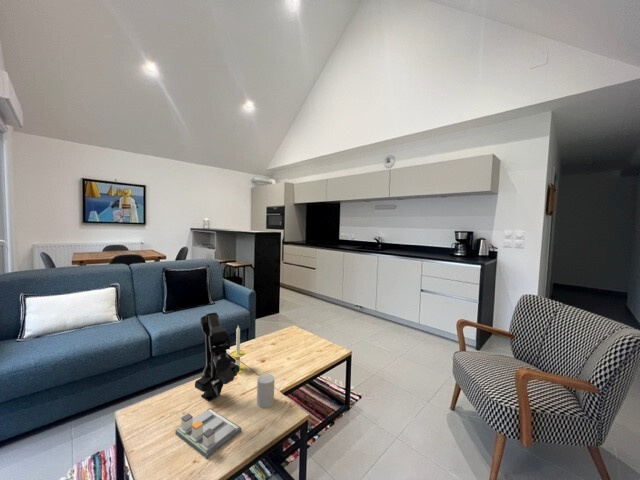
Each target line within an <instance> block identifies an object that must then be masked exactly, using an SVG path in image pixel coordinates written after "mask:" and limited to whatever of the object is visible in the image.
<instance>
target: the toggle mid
mask: <svg viewBox="0 0 640 480" xmlns="http://www.w3.org/2000/svg"><path fill="white" fill-rule="evenodd" d="M202 434H203V423H202V422H200V421H197V422H195V423H194V424H192V436H194V437H195V438H197V437H199V436H200V435H202Z"/></svg>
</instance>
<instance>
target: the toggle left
mask: <svg viewBox="0 0 640 480" xmlns="http://www.w3.org/2000/svg"><path fill="white" fill-rule="evenodd" d="M180 419H181V420H180V421H181V423H180V424H181V425H180V427H182V428H183V429H185V430H187V429H188V428H190V427H191V426H192V424H193V419H194V417H193V414H190V413H187V414H185V415H183V416H182V417H181V418H180Z"/></svg>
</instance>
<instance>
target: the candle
mask: <svg viewBox="0 0 640 480" xmlns="http://www.w3.org/2000/svg"><path fill="white" fill-rule="evenodd" d="M235 330H236V331H235V332H236V333H235V335H236V336H235V337H236V338H235V344H236V345H235V350H234V351H231V353H230V357H231V358H235V364H236V365H238V366H239V372H238V373H237V375H240V374H243V373H245V372H246V371H247V366H246V365H243V364H241V357H244V356H245V354H246V351H245V350H241V328H240V326H239V325H237V328H236V329H235Z"/></svg>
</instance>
